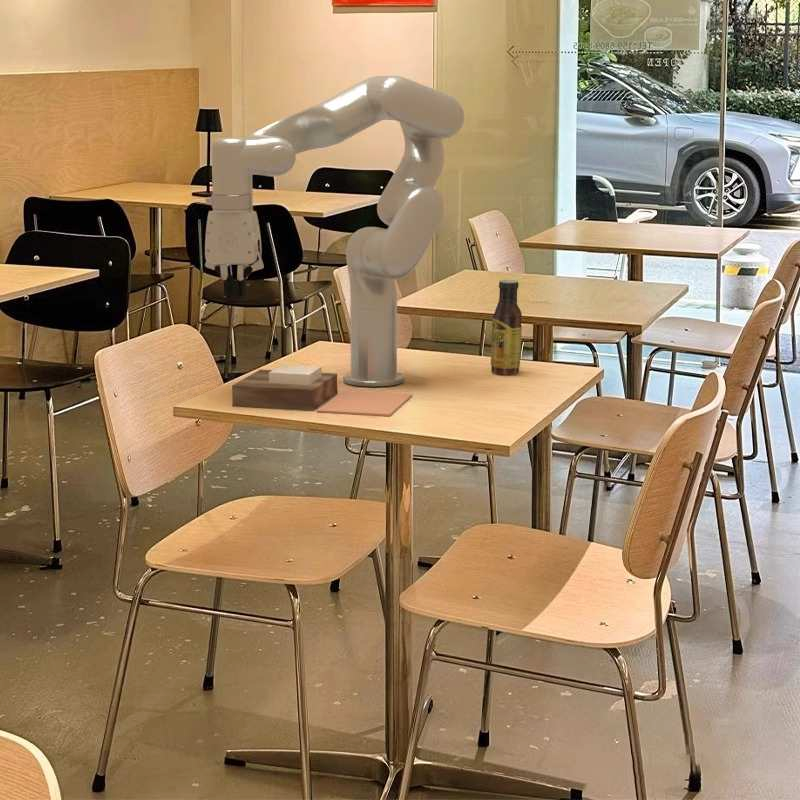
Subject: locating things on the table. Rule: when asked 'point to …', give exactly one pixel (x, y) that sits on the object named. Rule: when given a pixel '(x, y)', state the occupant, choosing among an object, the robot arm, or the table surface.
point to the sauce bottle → (506, 331)
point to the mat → (365, 403)
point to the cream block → (295, 374)
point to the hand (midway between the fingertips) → (235, 299)
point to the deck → (283, 392)
